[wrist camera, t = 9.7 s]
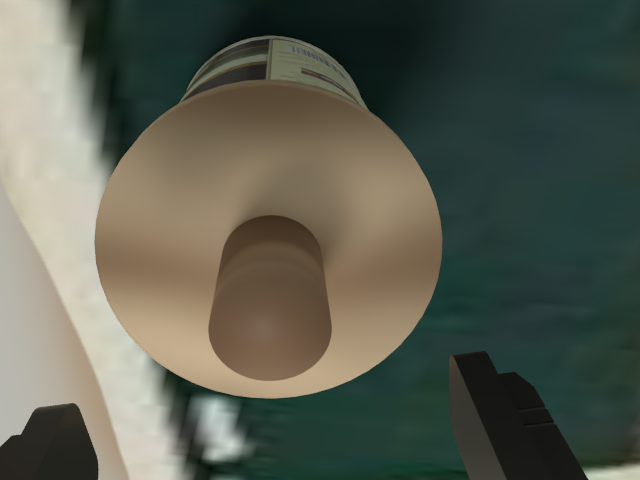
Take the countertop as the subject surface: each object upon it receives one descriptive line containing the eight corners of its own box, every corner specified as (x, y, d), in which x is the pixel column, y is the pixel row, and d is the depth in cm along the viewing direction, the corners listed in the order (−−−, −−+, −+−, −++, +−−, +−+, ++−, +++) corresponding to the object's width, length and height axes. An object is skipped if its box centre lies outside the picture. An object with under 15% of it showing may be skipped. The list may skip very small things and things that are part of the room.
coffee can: (182, 217, 35) (127, 367, 22) (175, 29, 30) (101, 81, 18) (359, 222, 36) (404, 370, 23) (377, 40, 31) (444, 98, 19)
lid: (62, 102, 18) (-14, 154, 13) (428, 58, 18) (481, 93, 13) (147, 394, 23) (113, 508, 18) (437, 357, 23) (479, 461, 18)
